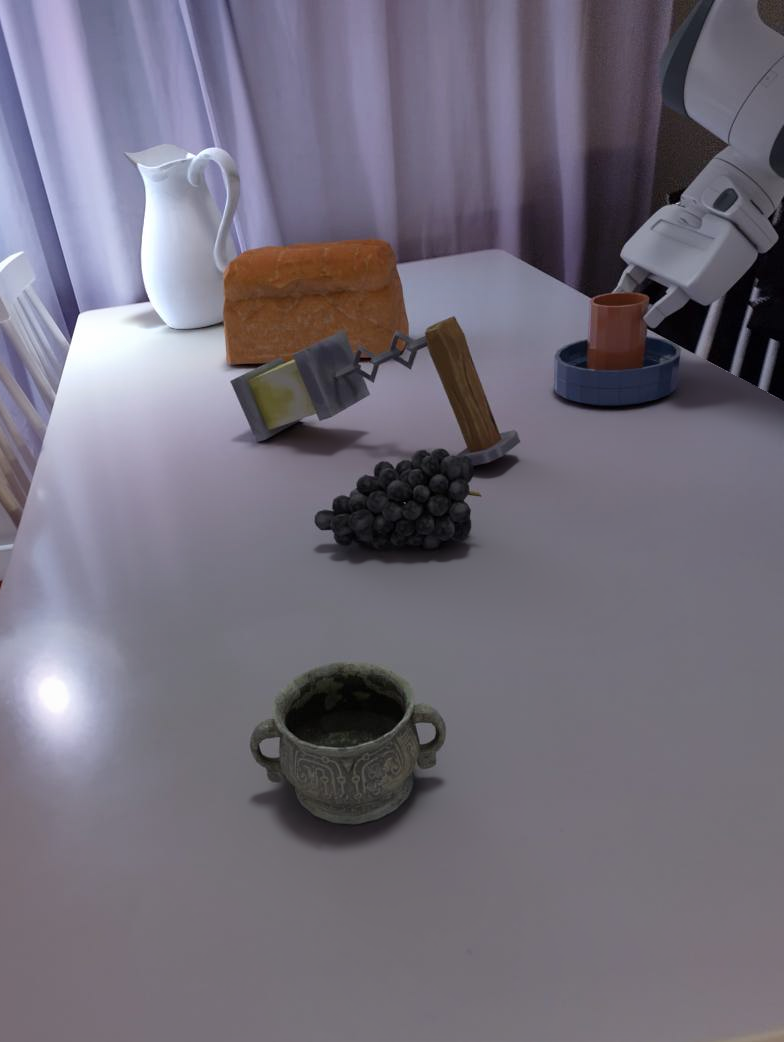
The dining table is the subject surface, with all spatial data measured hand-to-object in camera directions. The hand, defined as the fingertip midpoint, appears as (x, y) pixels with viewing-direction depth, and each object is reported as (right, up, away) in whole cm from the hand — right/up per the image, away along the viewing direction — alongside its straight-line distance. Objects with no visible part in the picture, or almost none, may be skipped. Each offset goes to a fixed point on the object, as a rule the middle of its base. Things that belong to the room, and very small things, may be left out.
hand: (629, 313), depth 109 cm
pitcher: (-54, +18, +57) cm, 80 cm away
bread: (-35, +6, +33) cm, 49 cm away
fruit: (-29, -29, -22) cm, 46 cm away
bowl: (0, -8, +4) cm, 9 cm away
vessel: (-35, -47, -49) cm, 76 cm away
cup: (0, -7, +4) cm, 8 cm away
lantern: (-30, -16, -2) cm, 34 cm away
